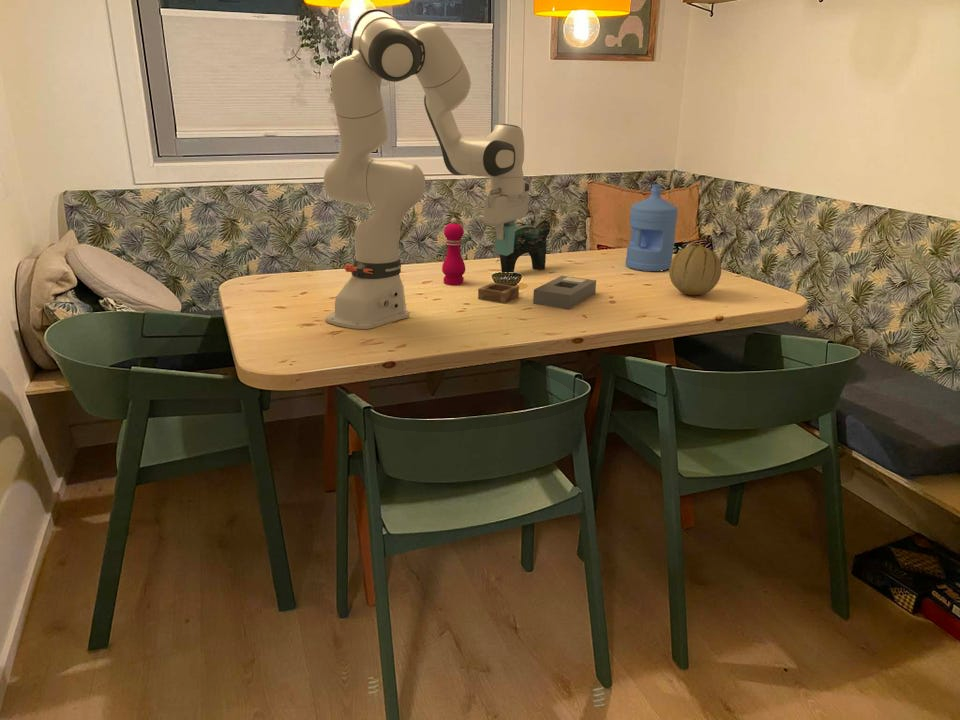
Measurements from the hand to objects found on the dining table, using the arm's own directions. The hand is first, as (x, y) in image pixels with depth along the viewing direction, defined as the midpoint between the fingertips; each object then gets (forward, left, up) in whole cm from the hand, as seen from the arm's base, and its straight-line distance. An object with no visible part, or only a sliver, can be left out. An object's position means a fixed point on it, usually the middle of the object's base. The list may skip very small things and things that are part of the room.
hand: (505, 237), depth 193 cm
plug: (0, +1, -4) cm, 4 cm away
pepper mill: (+7, +21, -18) cm, 29 cm away
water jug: (+63, -24, -18) cm, 70 cm away
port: (+9, -15, -17) cm, 25 cm away
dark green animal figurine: (+33, +9, -18) cm, 39 cm away
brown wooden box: (-1, +1, -17) cm, 17 cm away
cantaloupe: (+34, -46, -18) cm, 60 cm away
